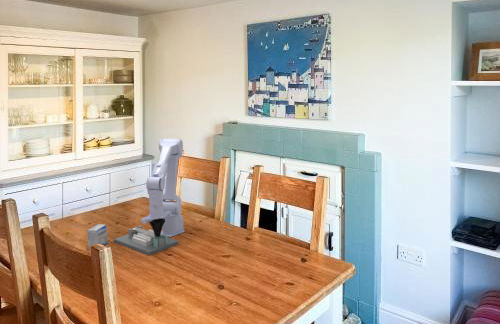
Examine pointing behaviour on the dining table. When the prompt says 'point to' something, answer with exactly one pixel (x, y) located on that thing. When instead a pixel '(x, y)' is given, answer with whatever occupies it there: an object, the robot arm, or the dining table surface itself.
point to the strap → (146, 232)
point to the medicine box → (97, 235)
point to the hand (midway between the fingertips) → (157, 235)
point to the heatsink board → (142, 248)
